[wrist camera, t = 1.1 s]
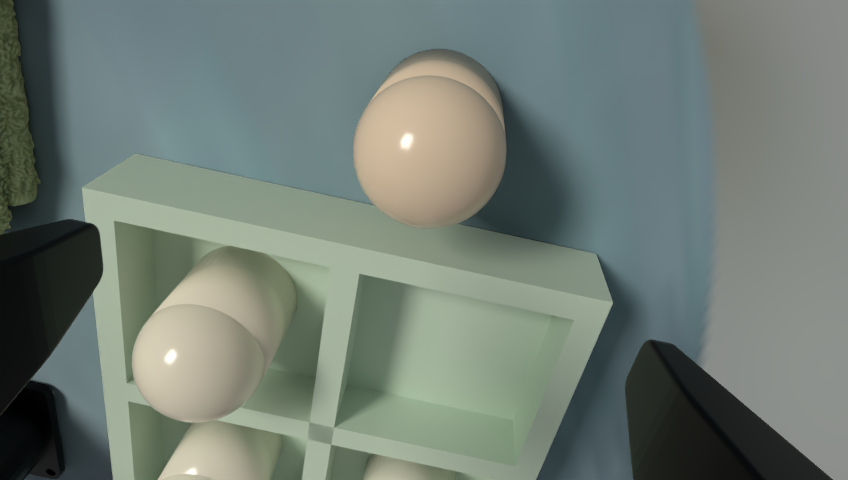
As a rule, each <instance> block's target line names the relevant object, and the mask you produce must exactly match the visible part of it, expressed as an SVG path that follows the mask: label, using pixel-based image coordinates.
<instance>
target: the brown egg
mask: <svg viewBox="0 0 848 480" xmlns="http://www.w3.org/2000/svg"><path fill="white" fill-rule="evenodd" d="M506 154H507V147H506V135H505V125H504V116H503V106H502V100H501V95H500V92H499V89H498V87H497V85H496V83H495V81H494V79H493V78H492V76H491V75H490V73H489V72H488V71H487V70H486V69H485V68H484V67H483V66H482V65H481V64H480V63H478V62H477V61H476V60H474V59H473V58H471V57H469V56H467V55H465V54H463V53H460V52H457V51H453V50H447V49H431V50H425V51H422V52H418V53H416V54H413V55H411V56H409V57H408V58H406V59H404V60H403V61H402V62H400V63H399V64H398V65H397V66H396V67H395V68H394V69H393V70H392V71H391V72H390V74H389V75H388V76H387V78H386V79H385V81H384V82H383V84H382V85H381V87H380V88H379V89H378V91H377V92H376V94H375V95H374V97H373V98H372V100H371V101H370V103H369V104H368V106H367V107H366V109H365V110H364V112H363V114H362V116H361V118H360V120H359V123H358V126H357V128H356V132H355V136H354V143H353V160H354V167H355V171H356V174H357V177H358V180H359V183H360V185H361V187H362V189H363V191H364V192H365V194H366V195H367V197H368V198H369V200H370V201H371V202H372V203H373V204H374V205H375V206H376V207H377V208H378V209H379V210H380V211H381V212H382V213H384V214H385V215H387V216H388V217H389V218H391V219H393V220H395V221H397V222H399V223H401V224H404V225H407V226H410V227H415V228H421V229H438V228H444V227H449V226H452V225H455V224H458V223H461V222H463V221H465V220H467V219H468V218H470V217H471V216H473V215H474V214H476V213H477V212H478V211H479V210H480V209H482V208H483V207H484V206H485V205H486V204H487V203H488V201H489V200H490V199H491V197H492V196H493V195H494V193H495V191H496V189H497V188H498V186H499V184H500V182H501V179H502V176H503V173H504V169H505V164H506Z"/></svg>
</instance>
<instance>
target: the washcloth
mask: <svg viewBox="0 0 848 480" xmlns="http://www.w3.org/2000/svg"><path fill="white" fill-rule="evenodd" d="M13 6H14V3H13V1H12V0H0V235H1V234H3V233H4V230H5V229H10V228H11V226H10V224H9V222H10V221H11V220H12V215H11V211H10V210H9V208H8V206H18V205H24V204H27V203H31V202H33V201H34V200H35V199H36V197H37V185H38V184H40V183H41V181H40V180H39V179H38V177H37V172H36V170H35V168H34V164H35V161H36V159H35V157H34V155H33V148H34V143H33V141H32V135H31V133H30V131H29V126H28V120H29V114H28V113H29V108H28V106H27V98H26V93H25V89H24V86H23V84H24V79H23V76H22V73H21V64H20V62H19V58H18V56H20V55H21V52H20V51H21V46H20V43H19V41H18V37H17V36H18V23H17V21H16V19H15V15H16V13H15V11H14V10H13Z"/></svg>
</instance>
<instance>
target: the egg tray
mask: <svg viewBox="0 0 848 480" xmlns="http://www.w3.org/2000/svg"><path fill="white" fill-rule="evenodd" d="M82 193H83V202H84V212H85V221H86V222H88V223H92V224H94V225H95V226H97V228H98V229H99V232H100V239H101V248H102V258H103V275H102V278H101V280H100V282H99V284H98V285H97V287H96V288H95V290H94V291H93V296H94V306H95V315H96V325H97V334H98V343H99V353H100V362H101V372H102V381H103V390H104V400H105V409H106V419H107V428H108V437H109V447H110V456H111V466H112V475H113V480H158V478H159V477H160V475H161V473H162V472H163V470H164V468H165V467H166V465H167V463H168V462H169V460H170V458H171V457H172V455H173V453H174V452H175V450H176V448H177V447H178V445H179V443H180V442H181V440H182V438H183V437H184V435H185V433H186V431H187V430H188V428H189V426H190V425H191V423H190V422H182V421H178V420H174V419H171V418H169V417H166V416H164V415H163V414H161V413H159V412H158V411H156V410H155V409H154V408H152V407H151V406H150V405H149V404H148V403H147V401H146V400H145V399H144V398H143V397H142V395H141V393H140V392H139V390H138V388H137V386H136V383H135V380H134V377H133V370H132V353H133V348H134V345H135V341H136V339H137V336H138V334H139V332H140V330H141V329H142V327H143V326H144V324H145V323H146V322H147V320H148V319H149V318H150V317H151V316H152V314H153V313H154V312H155V311H156V310H157V309H158V307H159V306H160V305H161V304H162V303H163V302H164V301H165V299H166V298H167V297H168V296H169V295H170V294H171V293H172V291H173V290H174V289H175V288H176V287H177V286H178V284H179V283H180V282H181V281H182V280H183V279H184V278H185V276H186V275H187V274H188V273H189V272H190V271H191V269H192V268H193V267H194V266H195V265H196V264H197V263H198V261H199V260H200V259H201V258H202V257H203V256H204V255H206V254H207V253H208V252H210V251H212V250H214V249H217V248H220V247H225V246H234V247H239V248H243V249H248V250H253V251H257V252H262V253H264V254H266V255H268V256H270V257H271V258H273V259H274V260H276V261H277V262H278V263H279V264H280V265H281V266H282V267H283V268H284V269H285V270H286V271H287V273H288V274H289V275H290V277H291V279H292V280H293V282H294V285H295V287H296V291H297V296H298V305H297V310H296V313H295V315H294V317H293V319H292V321H291V323H290V325H289V327H288V329H287V331H286V333H285V336H284V338H283V340H282V342H281V344H280V346H279V348H278V350H277V352H276V354H275V356H274V358H273V360H272V362H271V364H270V366H269V368H268V370H267V372H266V374H265V376H264V378H263V380H262V382H261V383H260V385H259V387H258V389H257V390H256V392H255V393H254V394H253V395H252V397H251V398H250V399H249V400H248V401H247V402H246V403H245V404H244V405H242V406H241V407H240V408H239V409H237V410H236V411H234V412H232V413H231V414H229V415H227V416H225V417H222V418H219V419H217V420H218V421H223V422H227V423H232V424H237V425H241V426H246V427H251V428H255V429H260V430H265V431H269V432H274V433H279V434H281V436H282V441H283V447H282V451H281V453H280V456H279V458H278V461H277V464H276V466H275V469H274V471H273V474H272V476H271V479H270V480H363V475H364V471H365V466H366V463H367V460H368V458H369V456H370V455H371V453H373V454H377V455H382V456H387V457H391V458H396V459H401V460H405V461H410V462H415V463H420V464H424V465H429V466H434V467H438V468H443V469H448V470H452V471H456V480H536V479H537V476H538V474H539V472H540V470H541V467H542V465H543V463H544V460H545V458H546V456H547V454H548V451H549V449H550V447H551V444H552V442H553V440H554V437H555V435H556V433H557V431H558V428H559V426H560V424H561V421H562V419H563V417H564V414H565V412H566V410H567V408H568V405H569V403H570V401H571V398H572V396H573V394H574V391H575V389H576V387H577V385H578V382H579V380H580V378H581V375H582V373H583V371H584V368H585V366H586V364H587V362H588V359H589V357H590V355H591V352H592V350H593V348H594V346H595V343H596V341H597V339H598V336H599V334H600V332H601V329H602V327H603V325H604V323H605V320H606V318H607V316H608V313H609V311H610V309H611V306H612V304H613V301H612V298H611V295H610V292H609V290H608V287H607V284H606V281H605V278H604V275H603V272H602V269H601V266H600V263H599V261H598V258H597V255H596V254H594V253H589V252H585V251H580V250H576V249H571V248H566V247H562V246H557V245H553V244H548V243H544V242H539V241H534V240H530V239H525V238H521V237H516V236H511V235H507V234H502V233H498V232H493V231H488V230H484V229H479V228H475V227H470V226H465V225H461V224H455V225H452V226H449V227H444V228H438V229H421V228H415V227H410V226H407V225H404V224H401V223H399V222H397V221H395V220H393V219H391V218H389V217H388V216H387V215H385V214H384V213H382V212H381V211H380V210H379V209H378V208H377V207H376V206H374V205H369V204H364V203H360V202H355V201H351V200H346V199H341V198H337V197H332V196H328V195H323V194H319V193H314V192H309V191H305V190H300V189H296V188H291V187H286V186H282V185H277V184H273V183H268V182H263V181H259V180H254V179H250V178H245V177H240V176H236V175H231V174H227V173H222V172H218V171H213V170H208V169H204V168H199V167H195V166H190V165H185V164H181V163H176V162H172V161H167V160H162V159H158V158H153V157H149V156H144V155H139V154H134V155H132V156H131V157H129V158H128V159H126V160H125V161H123V162H121V163H120V164H118V165H117V166H115V167H114V168H112V169H110V170H109V171H107V172H106V173H104V174H103V175H101V176H99V177H98V178H96V179H95V180H93V181H92V182H90V183H88V184H87V185H85V186H84V187H82Z"/></svg>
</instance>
